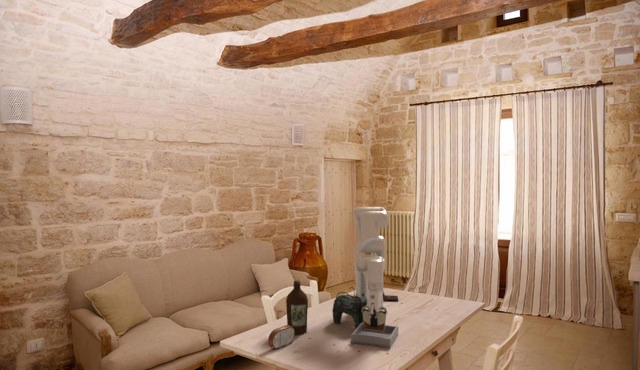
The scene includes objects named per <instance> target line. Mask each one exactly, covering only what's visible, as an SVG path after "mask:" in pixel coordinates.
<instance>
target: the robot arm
mask: <svg viewBox="0 0 640 370" xmlns="http://www.w3.org/2000/svg"><path fill="white" fill-rule="evenodd" d="M352 217H353V220H354V223H355V225H356V246H355V248H354V253H353V254H354V260H353V261H354V262H353V263H354V271H355V294H356V293H358V295H362V294H363V293H364V294H365V297H366V298H367V305H366V306H369V311H370V326H371V327H377V312H380V311H381V310H382V307H384V301H383V292H384V271H385V270H386V266H387V265H386V263H387V242H386V239H385V237H384V236H382V235H379V228H387V227H388V226H389V223H390V218H389V214H388V212H387V210H386V209H385V208H384V207H383V206H358V207H355V208H353V210H352ZM361 253H363V254H361ZM368 253H369V254H368ZM382 290H383V292H382ZM374 310H376V312H375V311H374ZM374 313H375V314H374Z"/></svg>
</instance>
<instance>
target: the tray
mask: <svg viewBox="0 0 640 370" xmlns="http://www.w3.org/2000/svg"><path fill="white" fill-rule="evenodd" d="M354 329H355V328H354ZM398 336H399V326H397V325H389V324H385V329H384V332H382V331H373V330H365V329H364V323H363V322H362V323H361V324H360V325H359V326H358V327H357V328H356V329H355V330H354V331H353V332H352V333H351V335H350V342H351V344H355V345H356V344H357V345H362V346H371V347H377V348H378V347H379V348H386V349H391V348H392V346H393V345H394V343H395V342H396V339H397V338H398Z"/></svg>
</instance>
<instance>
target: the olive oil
mask: <svg viewBox="0 0 640 370" xmlns="http://www.w3.org/2000/svg"><path fill="white" fill-rule="evenodd" d="M285 304H286V323H287V324H286V325H289V326H291V327H293V328H294V330H295V335H294V336H302V335H304V333H305V334H306V333H308V331H307V330H308V307H309V306H308V305H309V299H308V295H307V294H306V293H305V292H304V291H303V290H302V287H301V280H299V279H296V280H295V279H294V280H293V289H292V290H291V291H290V292H289V293H288V294H287V296H286V300H285ZM301 334H302V335H301Z"/></svg>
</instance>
